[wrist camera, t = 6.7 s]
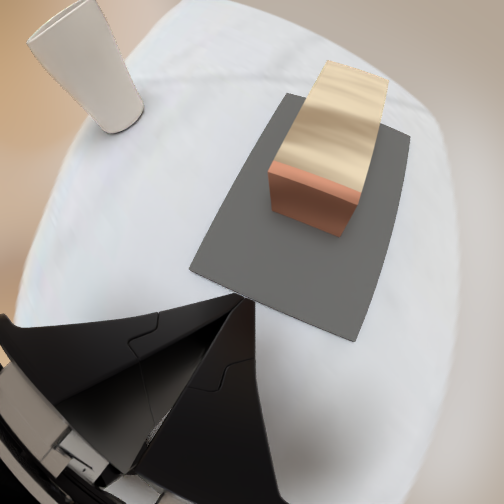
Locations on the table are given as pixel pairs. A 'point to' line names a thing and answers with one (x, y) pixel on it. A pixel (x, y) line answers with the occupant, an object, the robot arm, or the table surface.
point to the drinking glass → (88, 64)
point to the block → (329, 149)
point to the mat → (305, 237)
